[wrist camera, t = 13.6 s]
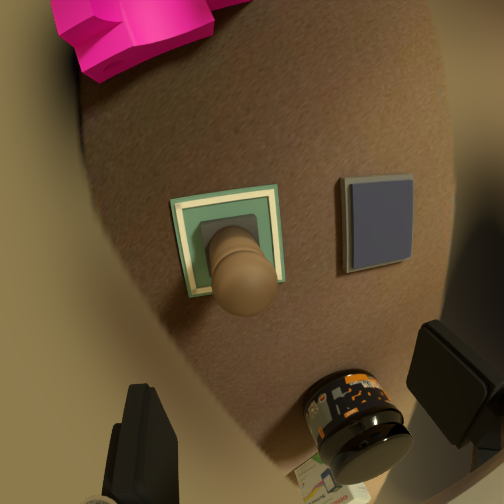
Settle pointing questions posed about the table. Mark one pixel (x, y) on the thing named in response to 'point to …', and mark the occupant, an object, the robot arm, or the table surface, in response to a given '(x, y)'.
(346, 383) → the supplement container
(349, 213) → the ink pad
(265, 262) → the stamp
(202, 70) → the table surface
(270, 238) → the mat
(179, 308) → the table surface
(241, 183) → the table surface
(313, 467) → the ink box
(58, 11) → the toy block
